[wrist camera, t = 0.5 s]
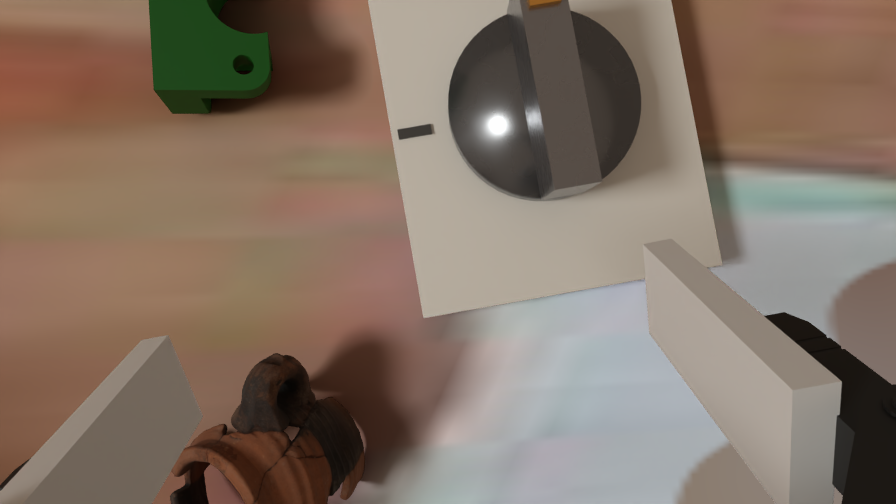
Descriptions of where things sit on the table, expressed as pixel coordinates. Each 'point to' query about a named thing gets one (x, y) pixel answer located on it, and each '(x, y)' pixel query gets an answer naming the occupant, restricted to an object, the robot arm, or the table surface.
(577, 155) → the dial
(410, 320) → the table surface
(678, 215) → the dial board
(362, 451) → the pottery mug
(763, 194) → the table surface
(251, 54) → the clamp
